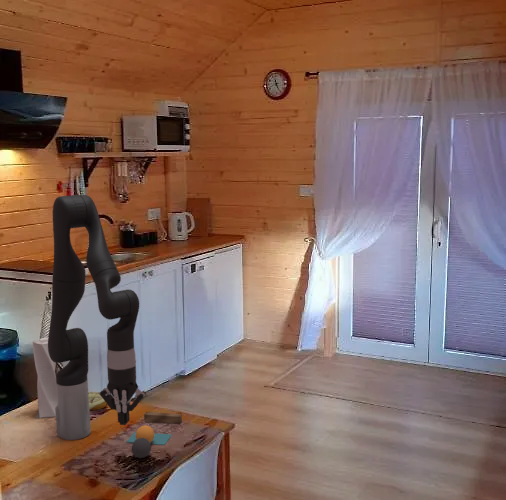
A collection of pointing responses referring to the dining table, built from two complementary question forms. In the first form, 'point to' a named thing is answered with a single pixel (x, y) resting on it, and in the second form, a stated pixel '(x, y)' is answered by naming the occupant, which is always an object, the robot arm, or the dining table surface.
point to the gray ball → (141, 447)
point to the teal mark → (158, 439)
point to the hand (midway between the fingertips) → (123, 423)
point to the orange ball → (145, 433)
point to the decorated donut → (96, 401)
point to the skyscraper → (45, 379)
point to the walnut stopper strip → (162, 417)
